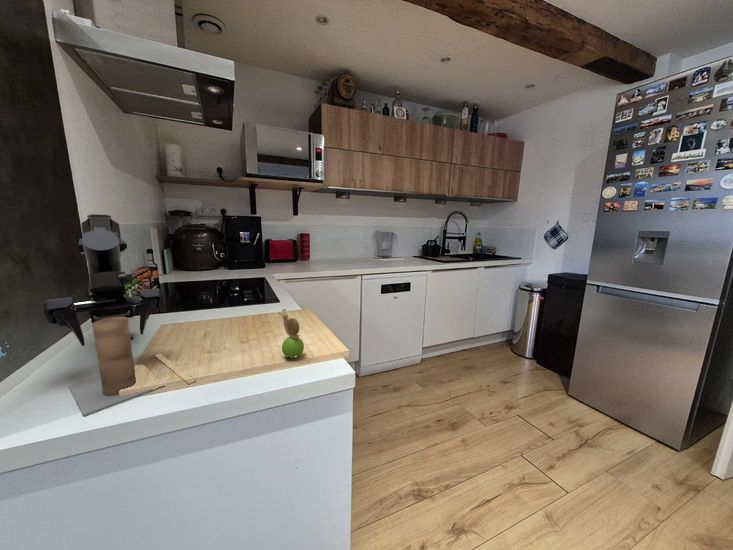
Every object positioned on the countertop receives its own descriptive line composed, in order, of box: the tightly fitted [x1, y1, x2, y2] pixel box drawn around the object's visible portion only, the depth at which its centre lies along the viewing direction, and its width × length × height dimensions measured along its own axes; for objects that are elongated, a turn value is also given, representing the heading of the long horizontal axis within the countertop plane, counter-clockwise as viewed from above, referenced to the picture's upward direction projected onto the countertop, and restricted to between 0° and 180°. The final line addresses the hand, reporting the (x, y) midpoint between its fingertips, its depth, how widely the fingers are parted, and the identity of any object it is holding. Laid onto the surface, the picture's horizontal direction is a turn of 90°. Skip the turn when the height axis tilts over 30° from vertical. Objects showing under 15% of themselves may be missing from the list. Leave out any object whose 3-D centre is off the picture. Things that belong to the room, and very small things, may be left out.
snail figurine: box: [281, 308, 305, 358], centre depth 71 cm, size 5×6×12 cm
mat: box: [68, 364, 155, 418], centre depth 57 cm, size 14×12×1 cm
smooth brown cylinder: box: [92, 317, 136, 396], centre depth 55 cm, size 5×5×14 cm
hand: (113, 339), depth 59 cm, fingers open, 9 cm apart
